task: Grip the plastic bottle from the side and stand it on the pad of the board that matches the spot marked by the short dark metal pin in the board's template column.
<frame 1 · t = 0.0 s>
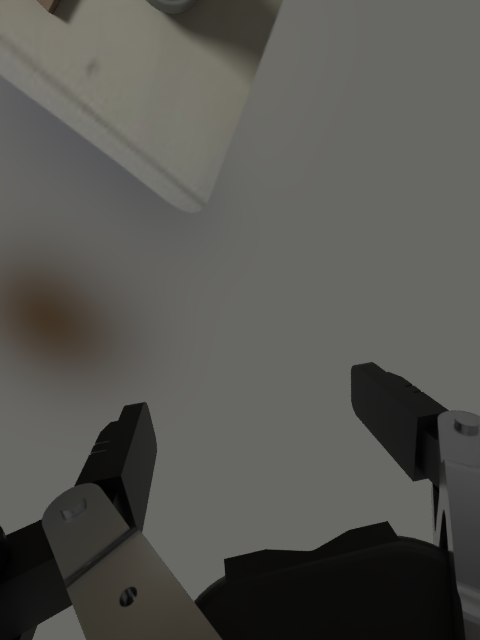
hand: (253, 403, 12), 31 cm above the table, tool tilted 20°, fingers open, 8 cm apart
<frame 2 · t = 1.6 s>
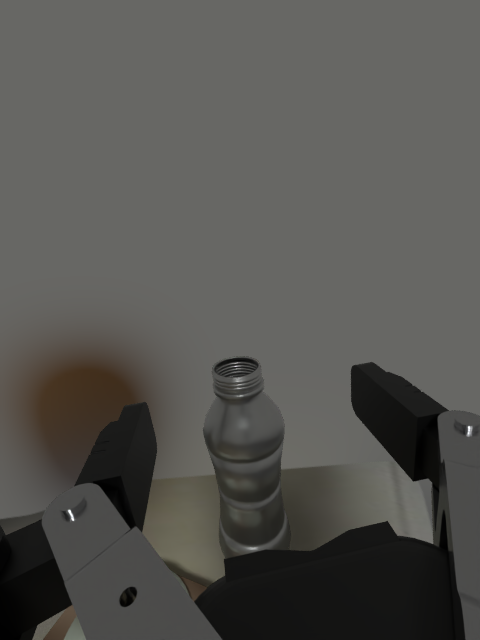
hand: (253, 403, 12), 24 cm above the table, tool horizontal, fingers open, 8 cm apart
plastic bottle: (257, 552, 29), on the table
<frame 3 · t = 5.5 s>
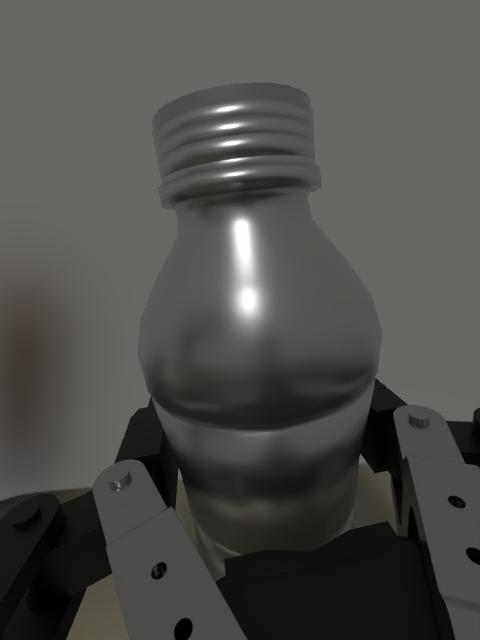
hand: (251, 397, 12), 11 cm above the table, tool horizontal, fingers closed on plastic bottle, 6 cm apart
when the fingers open (14 cm above the table, at t = 9.7 s): plastic bottle drops 1 cm, resting on layout board.
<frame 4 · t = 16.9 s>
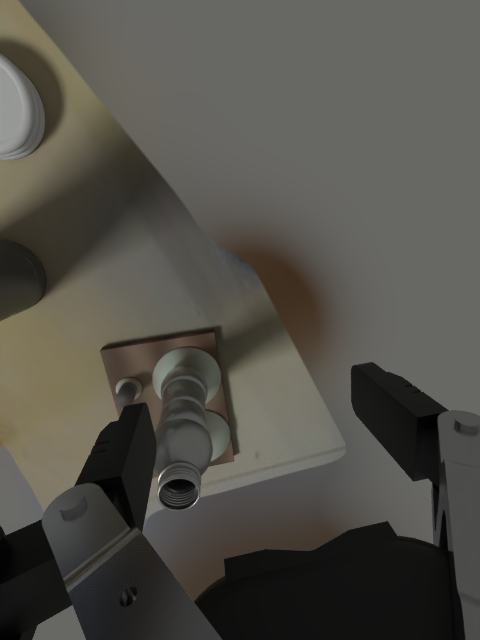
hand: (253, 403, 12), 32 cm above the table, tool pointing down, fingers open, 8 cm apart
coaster: (0, 112, 34), on the table
plastic bottle: (185, 380, 44), point 1 cm above the table, touching layout board
layout board: (173, 406, 47), on the table
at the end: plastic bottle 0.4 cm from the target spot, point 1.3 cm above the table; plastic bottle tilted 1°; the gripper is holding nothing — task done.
